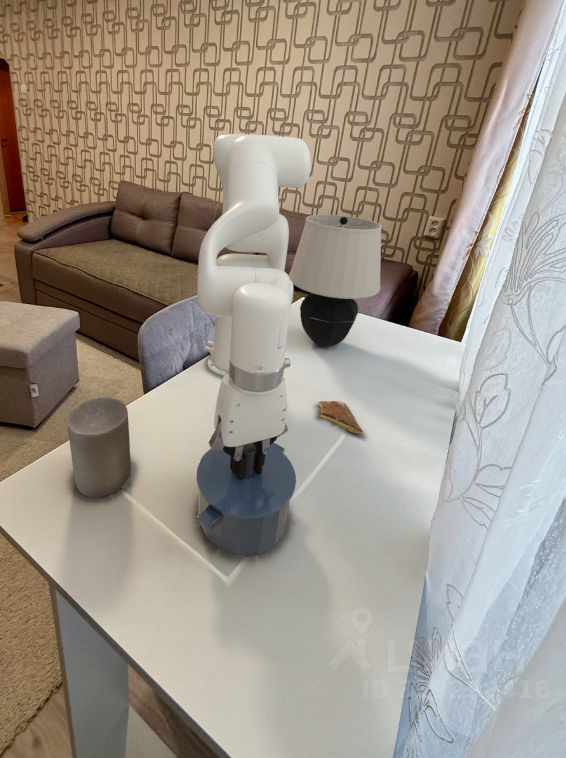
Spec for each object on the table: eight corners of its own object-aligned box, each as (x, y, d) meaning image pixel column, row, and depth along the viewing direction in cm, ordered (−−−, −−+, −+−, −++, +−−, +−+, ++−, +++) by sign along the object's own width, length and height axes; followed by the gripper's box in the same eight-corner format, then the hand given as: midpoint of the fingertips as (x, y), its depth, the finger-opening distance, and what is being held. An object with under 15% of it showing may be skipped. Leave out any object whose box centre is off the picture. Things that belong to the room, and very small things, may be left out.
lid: (175, 482, 61) (175, 451, 59) (237, 431, 73) (239, 403, 70) (257, 544, 53) (261, 510, 50) (312, 474, 65) (318, 444, 62)
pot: (167, 530, 62) (167, 490, 59) (244, 458, 77) (247, 423, 74) (240, 592, 54) (244, 550, 51) (309, 499, 69) (316, 462, 66)
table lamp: (316, 318, 143) (333, 206, 128) (383, 348, 125) (412, 222, 110) (263, 338, 126) (276, 211, 110) (332, 375, 108) (358, 230, 92)
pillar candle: (140, 462, 75) (138, 396, 69) (114, 504, 66) (108, 433, 60) (93, 451, 76) (87, 386, 70) (61, 491, 67) (51, 420, 62)
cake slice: (362, 437, 85) (363, 430, 85) (328, 438, 84) (329, 432, 84) (343, 406, 95) (345, 400, 95) (313, 407, 94) (314, 401, 93)
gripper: (292, 350, 61) (280, 443, 68) (192, 366, 55) (190, 466, 62) (319, 375, 55) (302, 475, 62) (209, 396, 49) (204, 504, 56)
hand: (246, 470), depth 62 cm, fingers closed on lid, 2 cm apart
